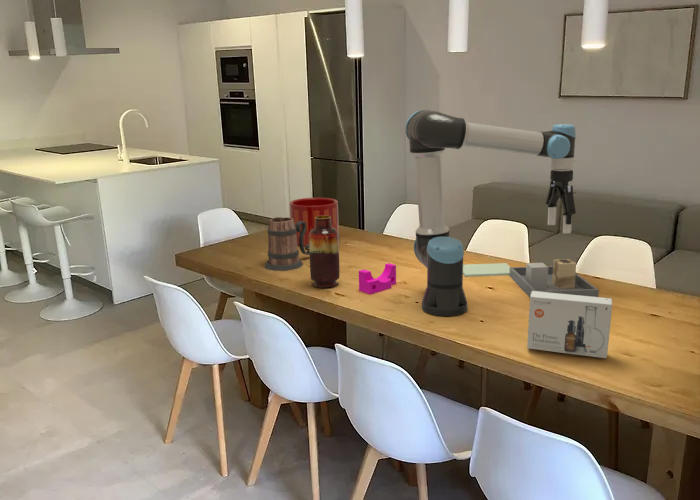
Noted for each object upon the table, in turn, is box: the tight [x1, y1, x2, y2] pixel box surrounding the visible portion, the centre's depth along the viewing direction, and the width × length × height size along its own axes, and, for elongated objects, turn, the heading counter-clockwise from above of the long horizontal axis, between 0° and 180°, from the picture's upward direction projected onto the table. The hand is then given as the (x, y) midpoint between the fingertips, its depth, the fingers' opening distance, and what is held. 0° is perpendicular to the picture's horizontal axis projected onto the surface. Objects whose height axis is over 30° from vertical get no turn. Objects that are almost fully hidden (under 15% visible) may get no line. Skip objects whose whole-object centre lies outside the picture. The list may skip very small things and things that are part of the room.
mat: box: [463, 262, 511, 278], centre depth 250 cm, size 14×20×1 cm
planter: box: [288, 197, 340, 248], centre depth 300 cm, size 23×23×20 cm
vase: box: [308, 215, 341, 289], centre depth 235 cm, size 11×11×26 cm
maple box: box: [552, 258, 577, 288], centre depth 227 cm, size 6×6×9 cm
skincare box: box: [526, 291, 613, 359], centre depth 173 cm, size 21×6×16 cm, turn 69°
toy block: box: [358, 262, 397, 295], centre depth 232 cm, size 15×6×8 cm, turn 128°
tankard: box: [264, 216, 310, 272], centre depth 265 cm, size 24×17×20 cm
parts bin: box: [508, 265, 600, 298], centre depth 228 cm, size 30×22×4 cm
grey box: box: [525, 262, 548, 289], centre depth 227 cm, size 6×6×8 cm
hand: (558, 228), depth 224 cm, fingers open, 13 cm apart
